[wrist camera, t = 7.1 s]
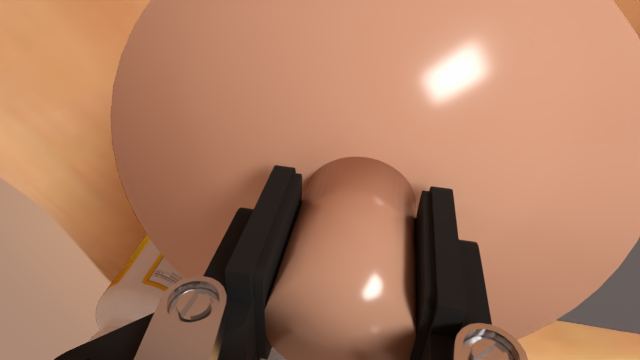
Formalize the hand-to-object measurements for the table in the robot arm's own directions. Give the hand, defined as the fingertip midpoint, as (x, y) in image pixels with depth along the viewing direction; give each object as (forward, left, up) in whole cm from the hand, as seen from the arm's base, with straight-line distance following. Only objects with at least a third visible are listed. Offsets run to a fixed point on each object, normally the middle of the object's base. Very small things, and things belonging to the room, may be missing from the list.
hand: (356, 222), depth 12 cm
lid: (0, 0, -2) cm, 2 cm away
